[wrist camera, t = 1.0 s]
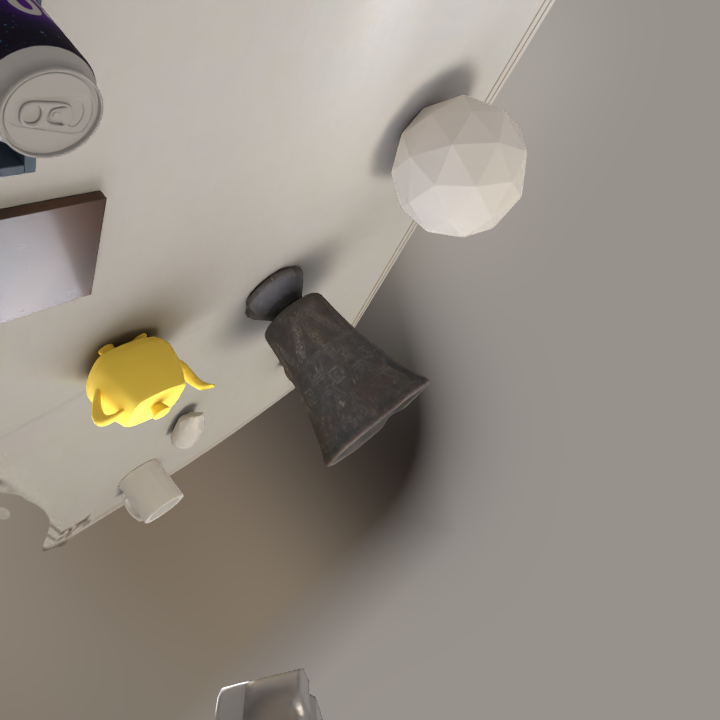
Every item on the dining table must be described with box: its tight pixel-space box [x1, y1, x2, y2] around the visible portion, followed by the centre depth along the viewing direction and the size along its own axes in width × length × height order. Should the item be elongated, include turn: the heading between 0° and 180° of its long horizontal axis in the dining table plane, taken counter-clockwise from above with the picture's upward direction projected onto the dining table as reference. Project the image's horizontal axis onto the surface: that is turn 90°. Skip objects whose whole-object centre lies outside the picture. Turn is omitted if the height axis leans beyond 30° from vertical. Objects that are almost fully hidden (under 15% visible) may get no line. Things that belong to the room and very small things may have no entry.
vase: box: [246, 267, 430, 466], centre depth 94 cm, size 22×22×30 cm
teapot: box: [86, 333, 215, 427], centre depth 77 cm, size 18×11×11 cm, turn 46°
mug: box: [119, 459, 184, 523], centre depth 131 cm, size 14×10×11 cm
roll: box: [171, 412, 205, 449], centre depth 119 cm, size 6×12×6 cm, turn 144°
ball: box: [391, 94, 527, 237], centre depth 81 cm, size 19×20×20 cm
